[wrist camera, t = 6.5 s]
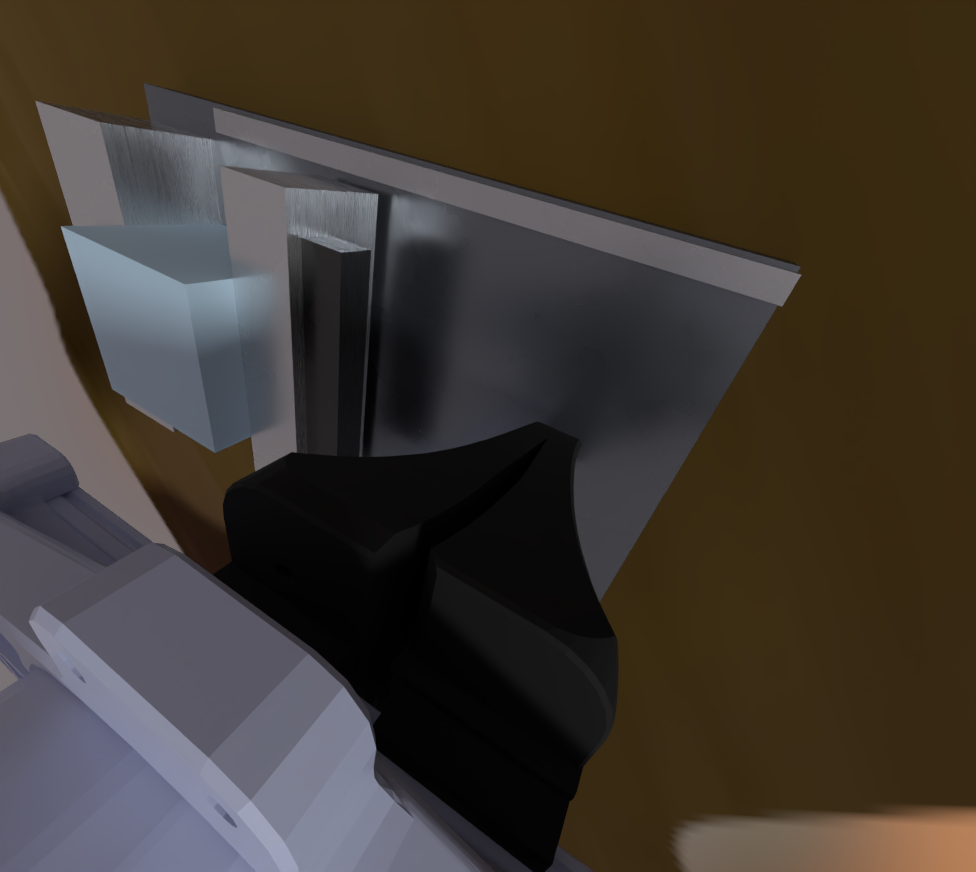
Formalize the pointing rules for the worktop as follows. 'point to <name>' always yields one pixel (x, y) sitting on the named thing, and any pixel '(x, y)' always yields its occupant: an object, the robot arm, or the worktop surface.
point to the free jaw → (301, 307)
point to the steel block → (167, 323)
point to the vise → (474, 297)
